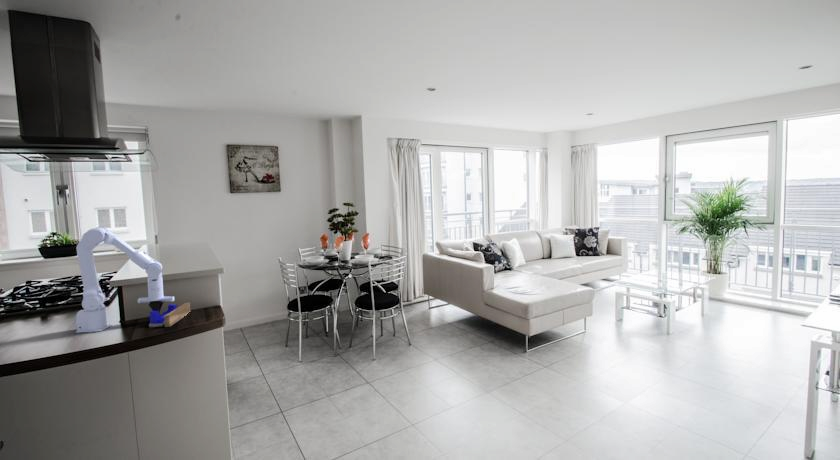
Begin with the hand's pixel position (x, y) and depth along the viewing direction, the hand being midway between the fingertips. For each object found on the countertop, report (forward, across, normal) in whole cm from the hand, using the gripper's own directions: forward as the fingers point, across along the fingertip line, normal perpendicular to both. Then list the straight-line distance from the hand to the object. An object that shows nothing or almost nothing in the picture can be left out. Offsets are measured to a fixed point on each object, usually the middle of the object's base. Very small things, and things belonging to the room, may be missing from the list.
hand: (157, 317), depth 175 cm
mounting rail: (+2, -4, 0) cm, 4 cm away
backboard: (+2, -9, 0) cm, 9 cm away
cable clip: (+2, -2, +1) cm, 3 cm away
